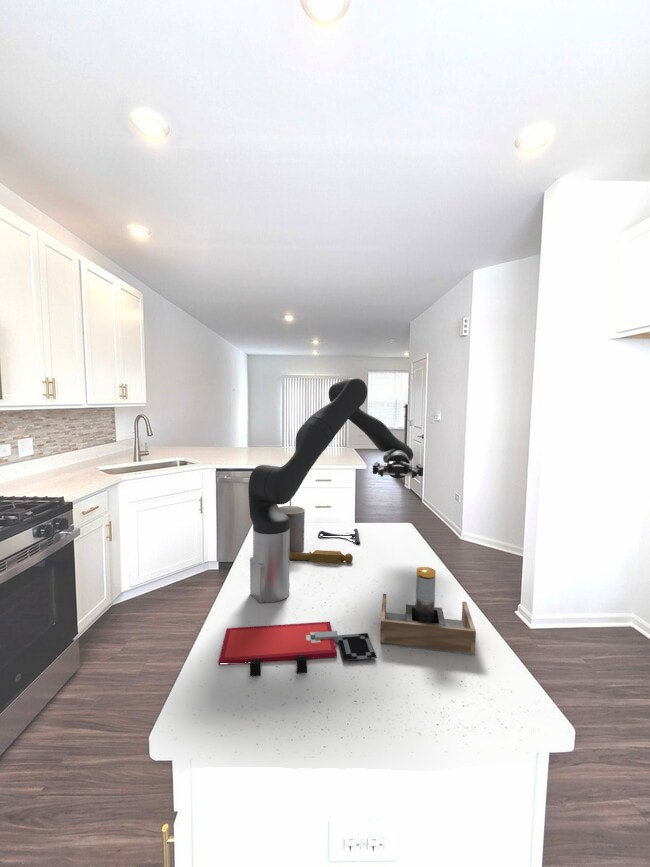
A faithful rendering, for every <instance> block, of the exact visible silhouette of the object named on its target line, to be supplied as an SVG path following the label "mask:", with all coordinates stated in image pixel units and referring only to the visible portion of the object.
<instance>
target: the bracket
mask: <svg viewBox="0 0 650 867" xmlns="http://www.w3.org/2000/svg"><path fill="white" fill-rule="evenodd" d="M353 531H355V534H350V535H343V534H336V533H330V532H327V531H324V530H319V532H318V533H317V534H318V535H317V537H318V536H321V535H322V536H352V537H355V538H354V539H355V542H353V541H352V542H353V543H352V542H351V543H352V544H354V543H355V544H354V545H357V544H358V545H359V544H360V545H361V540H360V535H359V530H358V529H357V528H354V529H353Z"/></svg>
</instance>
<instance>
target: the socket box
mask: <svg viewBox="0 0 650 867" xmlns="http://www.w3.org/2000/svg"><path fill="white" fill-rule="evenodd" d="M461 603H462V605H461V606H462V607H461V619H453V618H452V619H451V618H445V616H444V610H443V607H437V606H434V623H427V622H418V621H415V607H416V604H408V603H407V604H405V614H404V613H396V612H395V613H394V612H387V593H382V603H381V613H380V631H379V632H380V635H379V637H380V638H379V645H380V644H381V645H390V646H396V647H398V646H399V647H406V648H414V649H422V650H431V651H438V652H446V653H454V654H455V653H456V654H463V655H471V656H475V655H476V640H477V639H476V638H477V630H476V628H475V625H474V621H473V618H472V615H471V612H470V608H469V605H468V602H467V601H462V602H461Z"/></svg>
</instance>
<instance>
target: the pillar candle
mask: <svg viewBox="0 0 650 867" xmlns="http://www.w3.org/2000/svg"><path fill="white" fill-rule="evenodd" d="M278 507H279V509H280V510H281V511H282V512H283V513H285V514H286V515H287V516H288V517H289V521H290V552H301V553H303V552H304V550H305V547H304V546H305V517H306V516H305V513H306V511H305V508H303V507H301V506H299V505H298V506H297V505H283V506H278Z"/></svg>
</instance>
